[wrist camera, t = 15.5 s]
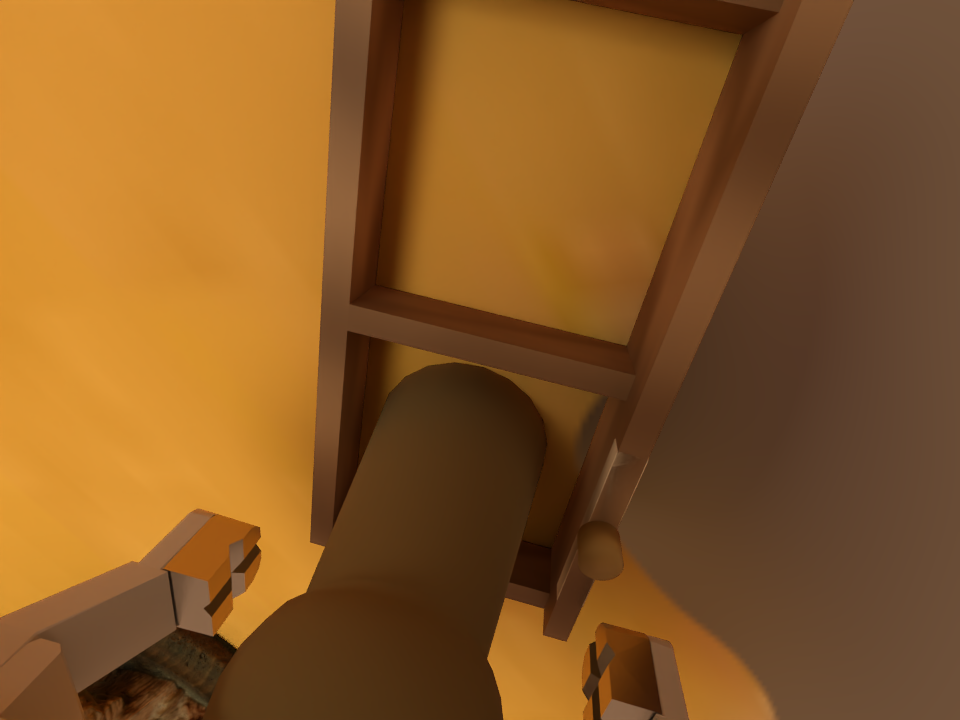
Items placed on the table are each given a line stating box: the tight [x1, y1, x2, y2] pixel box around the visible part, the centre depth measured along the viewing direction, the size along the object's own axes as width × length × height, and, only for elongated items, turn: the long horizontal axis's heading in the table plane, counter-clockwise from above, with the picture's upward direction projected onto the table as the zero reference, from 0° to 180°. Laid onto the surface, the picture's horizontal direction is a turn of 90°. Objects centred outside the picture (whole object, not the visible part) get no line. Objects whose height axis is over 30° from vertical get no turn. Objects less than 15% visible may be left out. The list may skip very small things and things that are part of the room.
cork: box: [202, 363, 547, 720], centre depth 12 cm, size 6×6×11 cm
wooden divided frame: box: [310, 0, 854, 641], centre depth 13 cm, size 18×10×4 cm, turn 169°
